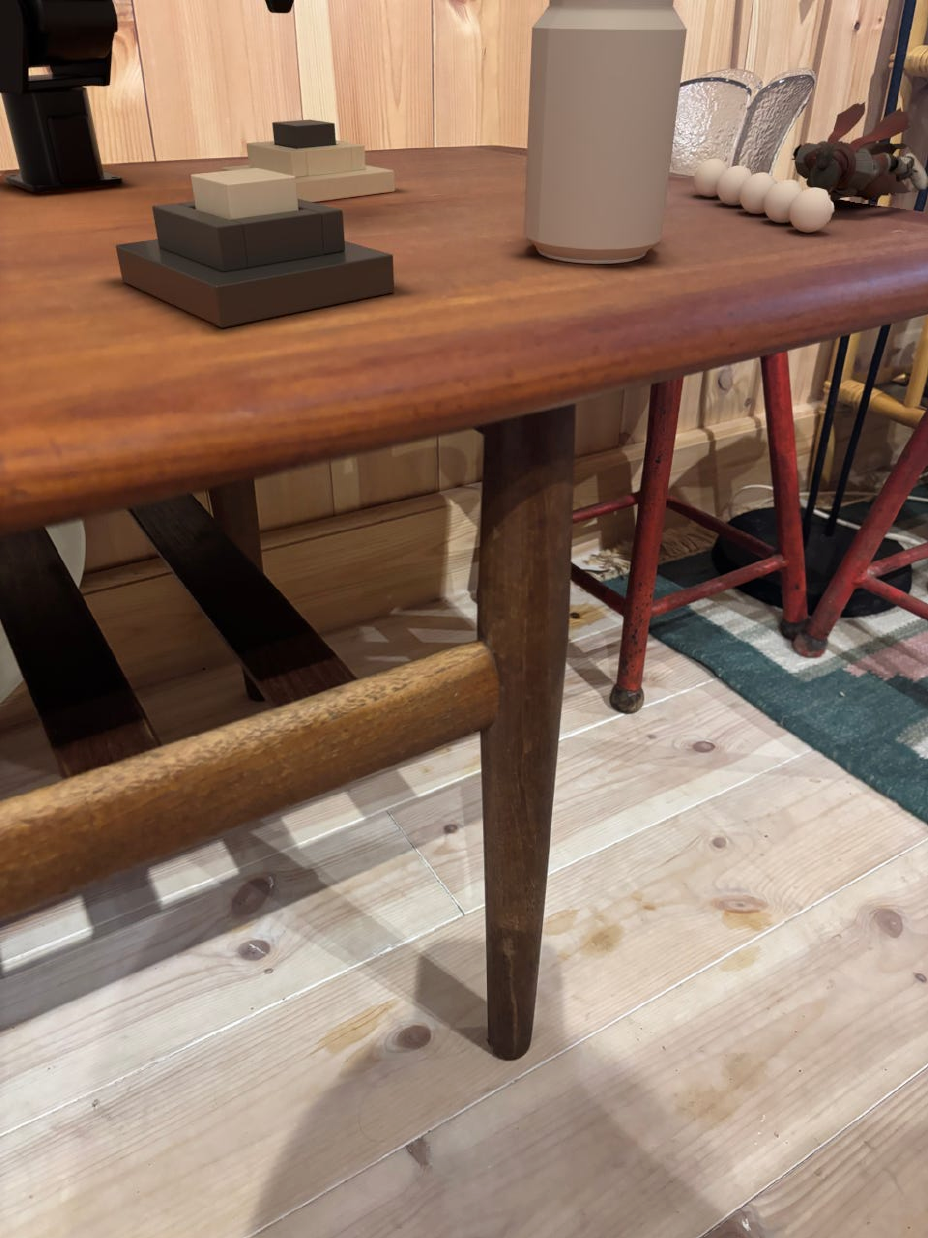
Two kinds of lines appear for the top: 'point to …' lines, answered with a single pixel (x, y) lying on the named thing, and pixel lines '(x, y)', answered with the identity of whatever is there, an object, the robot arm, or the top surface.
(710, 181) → the spheres
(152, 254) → the dark grey stepped block
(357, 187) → the beige stepped base
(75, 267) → the top surface
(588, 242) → the can
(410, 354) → the top surface
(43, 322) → the top surface
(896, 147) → the action figure
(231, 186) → the beige square block
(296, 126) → the black key
